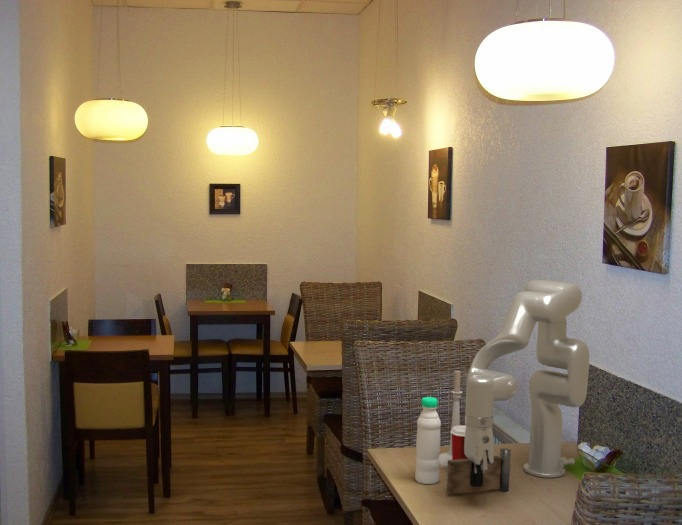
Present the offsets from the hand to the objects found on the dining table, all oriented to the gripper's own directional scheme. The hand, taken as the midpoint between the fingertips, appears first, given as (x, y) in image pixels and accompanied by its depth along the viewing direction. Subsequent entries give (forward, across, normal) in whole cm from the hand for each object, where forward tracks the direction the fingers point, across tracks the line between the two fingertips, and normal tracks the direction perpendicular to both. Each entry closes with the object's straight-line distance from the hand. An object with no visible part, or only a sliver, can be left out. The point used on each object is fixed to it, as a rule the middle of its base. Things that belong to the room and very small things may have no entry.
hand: (476, 485), depth 226 cm
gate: (+4, +7, -2) cm, 8 cm away
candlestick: (+5, +33, -8) cm, 34 cm away
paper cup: (+5, +23, -6) cm, 24 cm away
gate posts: (+5, +8, -4) cm, 10 cm away
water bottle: (+5, +19, +7) cm, 21 cm away
